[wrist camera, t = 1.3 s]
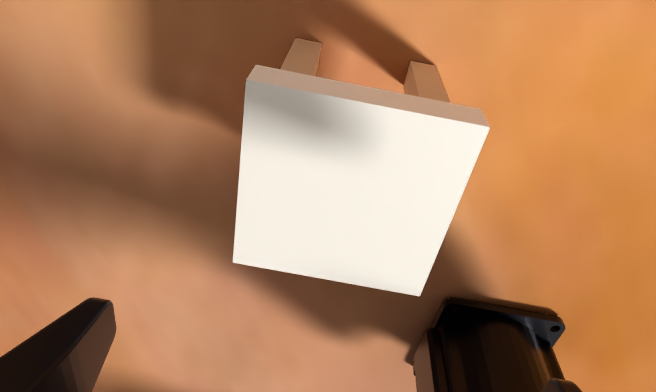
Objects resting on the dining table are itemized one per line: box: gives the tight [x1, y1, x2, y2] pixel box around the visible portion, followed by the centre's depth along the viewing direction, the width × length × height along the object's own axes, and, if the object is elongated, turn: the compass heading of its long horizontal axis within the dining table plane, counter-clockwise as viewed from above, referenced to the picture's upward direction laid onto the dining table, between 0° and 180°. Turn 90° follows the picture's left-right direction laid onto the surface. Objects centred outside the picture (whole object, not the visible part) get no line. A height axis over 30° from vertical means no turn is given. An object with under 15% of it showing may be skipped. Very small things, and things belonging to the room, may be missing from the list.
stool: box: [233, 38, 490, 296], centre depth 16 cm, size 6×6×6 cm
